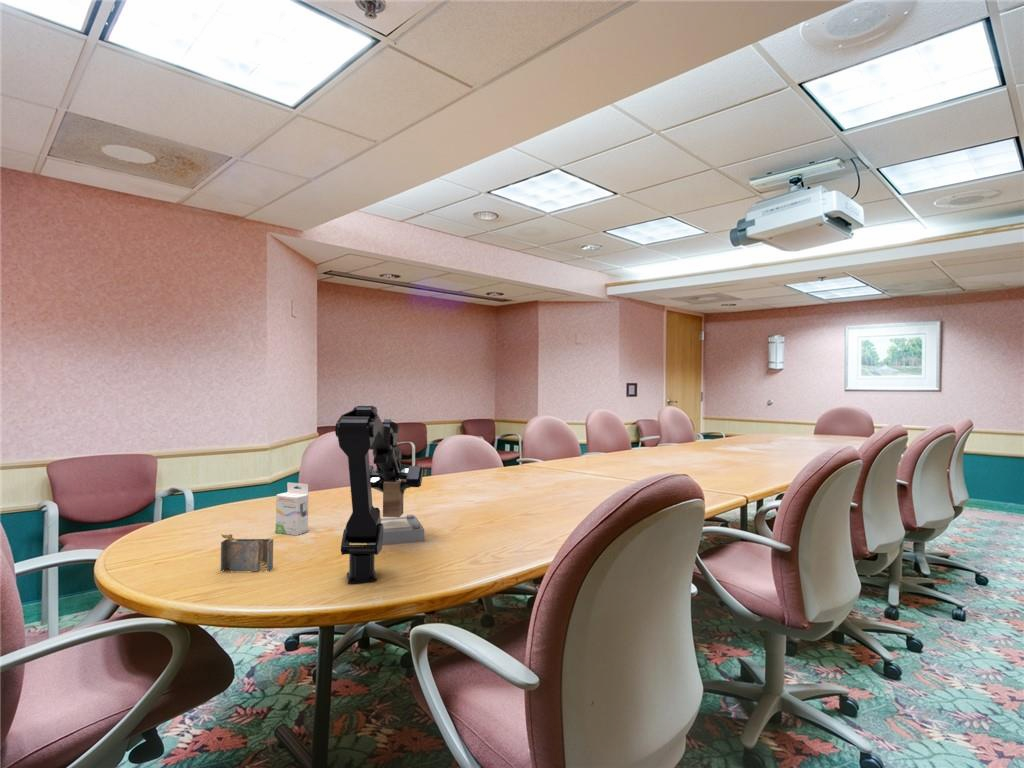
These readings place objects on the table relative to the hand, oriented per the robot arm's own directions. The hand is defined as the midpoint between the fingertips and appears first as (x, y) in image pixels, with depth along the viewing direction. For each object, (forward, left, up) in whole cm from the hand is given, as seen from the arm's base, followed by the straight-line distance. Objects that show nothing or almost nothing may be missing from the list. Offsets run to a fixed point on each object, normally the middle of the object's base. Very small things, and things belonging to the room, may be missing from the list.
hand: (394, 492), depth 159 cm
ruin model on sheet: (-20, +38, -14) cm, 45 cm away
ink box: (+12, +29, -13) cm, 34 cm away
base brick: (-1, 0, -13) cm, 13 cm away
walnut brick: (-1, 0, -7) cm, 7 cm away
